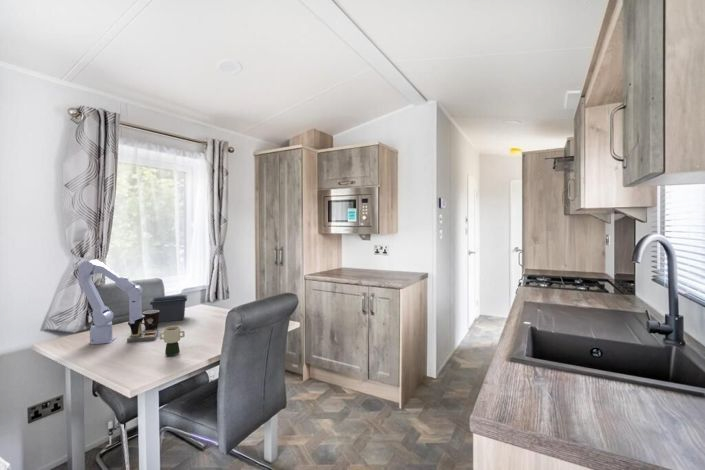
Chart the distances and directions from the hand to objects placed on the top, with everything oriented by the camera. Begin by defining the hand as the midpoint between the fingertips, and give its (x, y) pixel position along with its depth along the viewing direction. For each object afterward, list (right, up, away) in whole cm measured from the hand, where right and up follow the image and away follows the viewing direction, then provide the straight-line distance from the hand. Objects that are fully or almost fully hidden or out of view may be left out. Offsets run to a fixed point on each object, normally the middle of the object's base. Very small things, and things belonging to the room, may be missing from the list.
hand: (136, 333), depth 191 cm
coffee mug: (-4, -3, +19) cm, 19 cm away
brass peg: (0, -3, 0) cm, 3 cm away
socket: (+3, -3, +1) cm, 5 cm away
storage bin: (-1, -2, +37) cm, 37 cm away
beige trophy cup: (+30, -5, -21) cm, 37 cm away
